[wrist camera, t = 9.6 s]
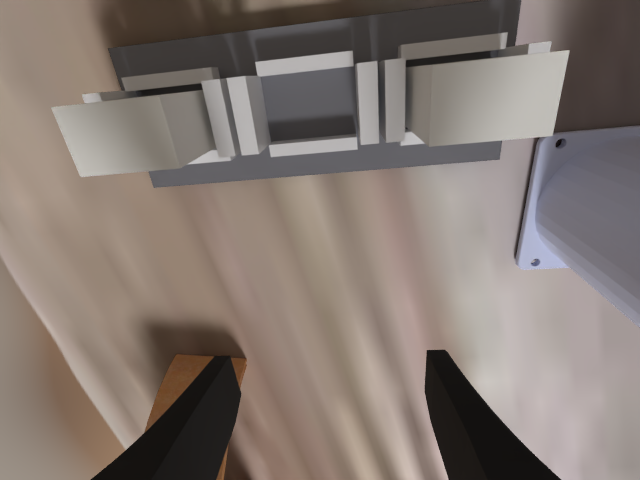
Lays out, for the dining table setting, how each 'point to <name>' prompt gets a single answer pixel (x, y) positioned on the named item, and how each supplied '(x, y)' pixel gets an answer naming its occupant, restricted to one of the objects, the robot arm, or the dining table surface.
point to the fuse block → (317, 89)
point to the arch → (180, 379)
